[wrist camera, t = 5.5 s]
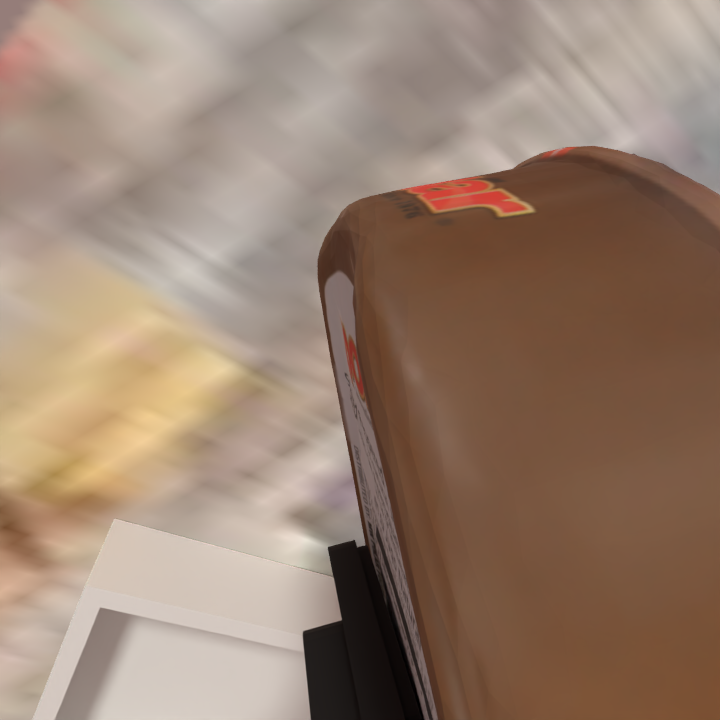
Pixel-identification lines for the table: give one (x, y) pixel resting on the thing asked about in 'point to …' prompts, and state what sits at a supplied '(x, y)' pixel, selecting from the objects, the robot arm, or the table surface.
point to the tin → (539, 433)
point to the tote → (187, 634)
